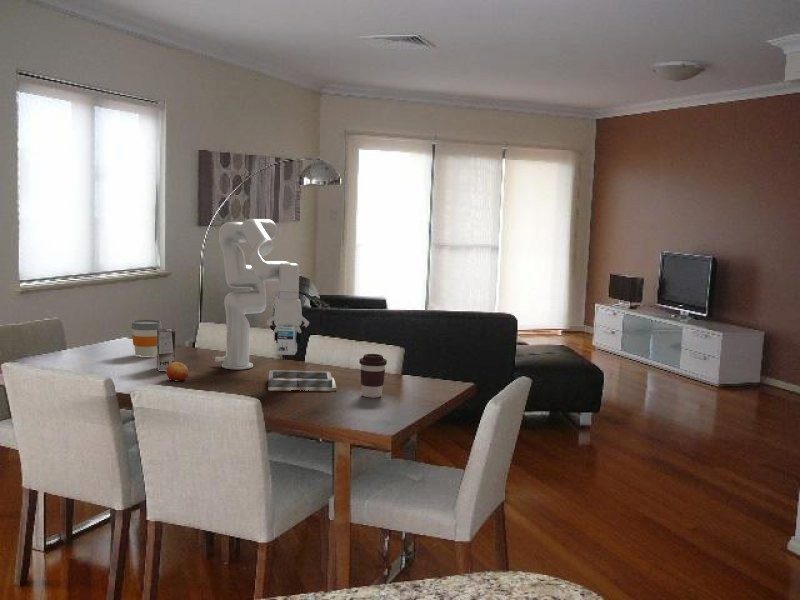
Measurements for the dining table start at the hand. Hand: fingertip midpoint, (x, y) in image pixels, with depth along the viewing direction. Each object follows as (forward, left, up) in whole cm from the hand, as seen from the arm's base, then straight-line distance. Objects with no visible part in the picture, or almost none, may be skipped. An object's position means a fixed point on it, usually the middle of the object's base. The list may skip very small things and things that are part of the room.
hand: (287, 342), depth 304 cm
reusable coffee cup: (-60, +54, -17) cm, 83 cm away
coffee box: (-48, +26, -17) cm, 57 cm away
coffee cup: (+31, -16, -17) cm, 39 cm away
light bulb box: (0, 0, -4) cm, 4 cm away
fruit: (-41, +6, -17) cm, 45 cm away
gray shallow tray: (+6, 0, -16) cm, 17 cm away
